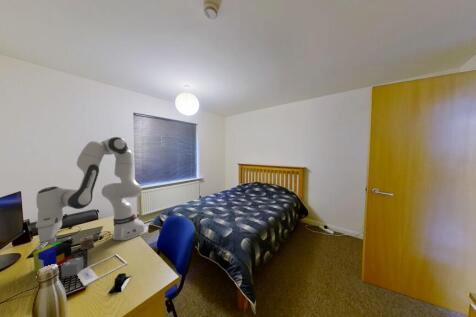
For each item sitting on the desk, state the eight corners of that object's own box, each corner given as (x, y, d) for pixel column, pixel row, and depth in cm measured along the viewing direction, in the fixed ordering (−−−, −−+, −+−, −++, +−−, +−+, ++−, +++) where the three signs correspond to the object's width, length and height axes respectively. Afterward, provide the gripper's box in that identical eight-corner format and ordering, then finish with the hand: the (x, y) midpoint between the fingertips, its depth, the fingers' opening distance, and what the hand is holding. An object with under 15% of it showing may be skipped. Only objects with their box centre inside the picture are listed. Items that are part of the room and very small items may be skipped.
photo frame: (75, 272, 84) (116, 253, 99) (75, 274, 84) (116, 255, 99) (84, 285, 76) (127, 262, 91) (84, 287, 76) (127, 264, 91)
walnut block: (93, 243, 111) (92, 234, 111) (93, 247, 107) (93, 237, 107) (80, 247, 107) (80, 237, 107) (81, 251, 103) (80, 241, 102)
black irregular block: (120, 276, 83) (119, 267, 82) (135, 274, 84) (135, 266, 83) (103, 298, 70) (102, 288, 70) (121, 296, 71) (121, 286, 71)
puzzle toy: (48, 273, 84) (47, 254, 84) (34, 270, 86) (33, 252, 86) (72, 260, 94) (70, 243, 94) (58, 258, 96) (57, 241, 96)
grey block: (83, 267, 88) (83, 256, 88) (77, 275, 83) (76, 263, 82) (69, 270, 86) (68, 258, 86) (61, 278, 81) (61, 266, 80)
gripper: (49, 212, 95) (51, 235, 96) (34, 226, 79) (36, 253, 80) (64, 210, 99) (66, 232, 100) (53, 222, 82) (55, 249, 83)
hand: (53, 241), depth 90 cm, fingers closed
